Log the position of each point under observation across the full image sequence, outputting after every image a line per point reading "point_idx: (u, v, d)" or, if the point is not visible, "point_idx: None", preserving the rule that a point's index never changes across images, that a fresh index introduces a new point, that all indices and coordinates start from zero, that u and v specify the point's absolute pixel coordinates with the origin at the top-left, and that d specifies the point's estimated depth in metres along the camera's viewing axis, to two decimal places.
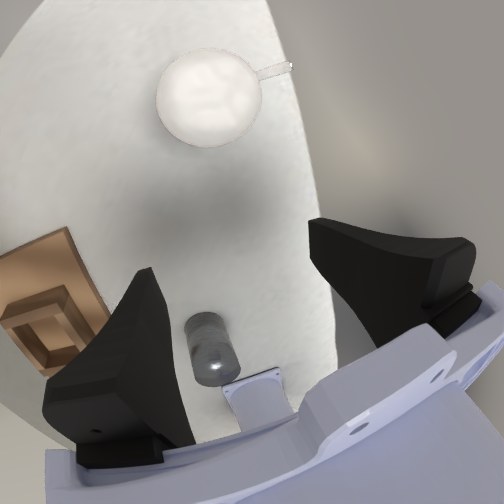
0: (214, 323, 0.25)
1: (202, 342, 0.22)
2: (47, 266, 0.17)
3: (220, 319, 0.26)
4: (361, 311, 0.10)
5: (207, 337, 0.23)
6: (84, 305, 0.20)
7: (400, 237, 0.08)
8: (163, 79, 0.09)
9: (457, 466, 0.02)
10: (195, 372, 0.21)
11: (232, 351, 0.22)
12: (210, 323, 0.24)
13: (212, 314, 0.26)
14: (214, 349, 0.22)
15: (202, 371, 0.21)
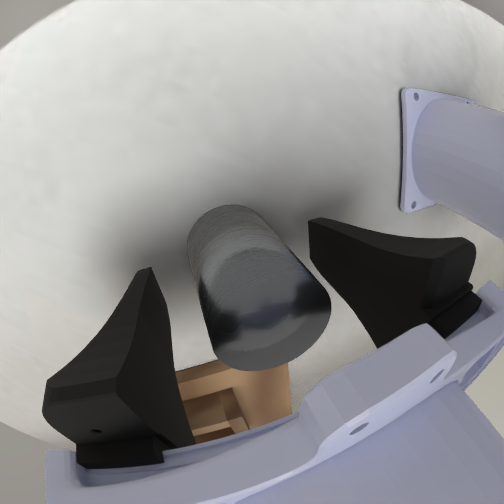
0: (194, 249, 0.11)
1: None
2: None
3: (203, 221, 0.12)
4: (361, 311, 0.10)
5: (198, 295, 0.10)
6: None
7: (400, 237, 0.08)
8: None
9: (457, 466, 0.02)
10: (252, 369, 0.09)
11: (228, 271, 0.08)
12: (192, 258, 0.11)
13: (190, 234, 0.12)
14: (204, 317, 0.09)
15: (252, 361, 0.09)
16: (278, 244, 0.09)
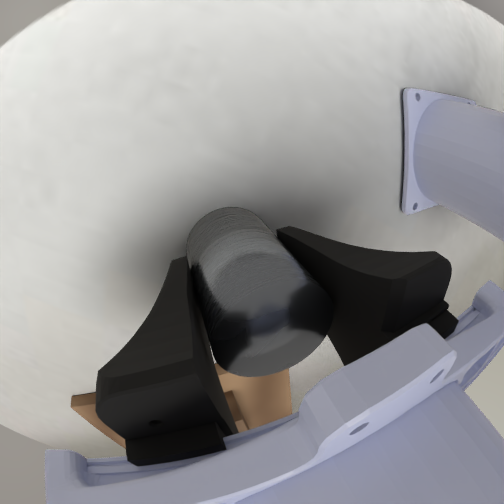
0: (193, 253, 0.11)
1: None
2: None
3: (203, 224, 0.11)
4: None
5: None
6: None
7: (367, 250, 0.08)
8: None
9: (457, 466, 0.02)
10: (253, 374, 0.09)
11: (229, 276, 0.08)
12: (191, 262, 0.11)
13: (190, 237, 0.12)
14: (204, 323, 0.08)
15: (253, 367, 0.09)
16: (279, 248, 0.09)
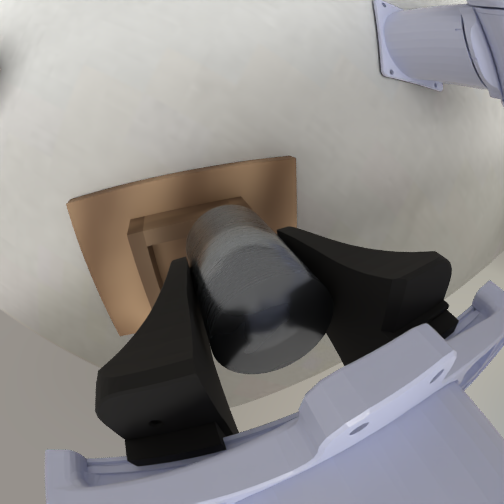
0: (193, 248, 0.11)
1: None
2: (105, 234, 0.17)
3: (203, 221, 0.11)
4: None
5: None
6: (165, 200, 0.17)
7: (367, 250, 0.08)
8: None
9: (457, 467, 0.02)
10: (251, 371, 0.09)
11: (229, 270, 0.08)
12: (191, 258, 0.11)
13: (190, 234, 0.12)
14: (203, 317, 0.08)
15: (252, 363, 0.08)
16: (280, 244, 0.09)
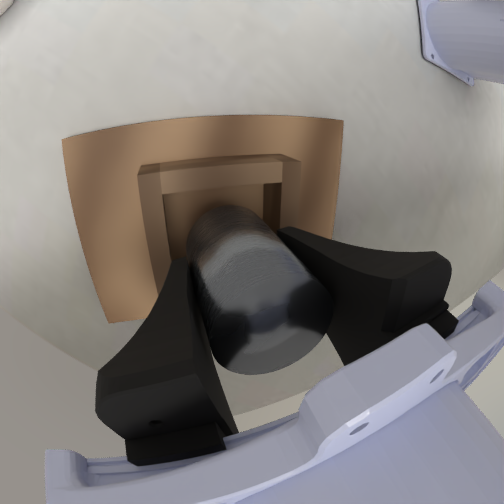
0: (193, 249, 0.11)
1: None
2: (105, 183, 0.12)
3: (203, 221, 0.11)
4: None
5: None
6: (189, 144, 0.13)
7: (367, 250, 0.08)
8: None
9: (457, 466, 0.02)
10: (251, 372, 0.09)
11: (229, 271, 0.08)
12: (190, 258, 0.11)
13: (189, 234, 0.12)
14: (203, 318, 0.08)
15: (252, 364, 0.08)
16: (280, 245, 0.09)
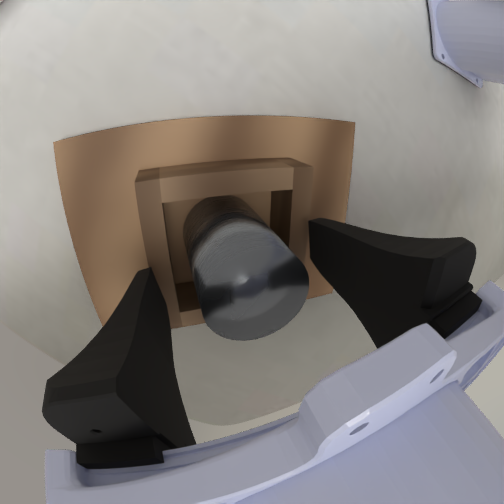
0: (189, 231, 0.12)
1: None
2: (100, 189, 0.11)
3: (198, 208, 0.13)
4: (361, 311, 0.10)
5: (191, 271, 0.11)
6: (191, 147, 0.12)
7: (400, 237, 0.08)
8: None
9: (457, 467, 0.02)
10: (238, 338, 0.10)
11: (217, 245, 0.09)
12: (186, 240, 0.12)
13: (186, 220, 0.13)
14: (195, 287, 0.10)
15: (238, 329, 0.10)
16: (263, 225, 0.11)
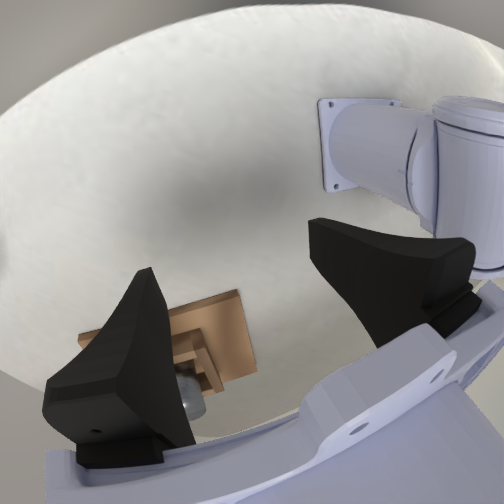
0: None
1: None
2: None
3: None
4: (361, 311, 0.10)
5: None
6: None
7: (400, 237, 0.08)
8: None
9: (457, 467, 0.02)
10: None
11: None
12: None
13: None
14: None
15: None
16: (182, 380, 0.21)
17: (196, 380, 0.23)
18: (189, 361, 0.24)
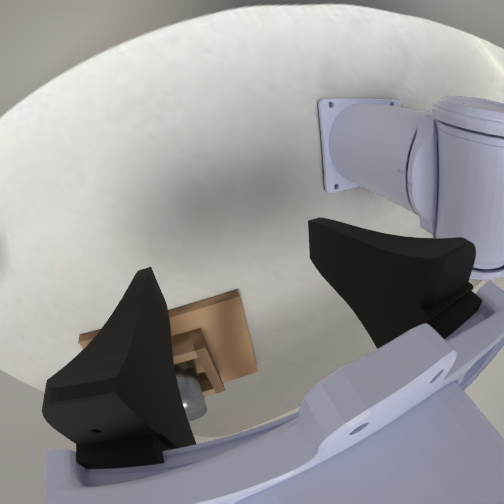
0: None
1: None
2: None
3: None
4: (361, 311, 0.10)
5: None
6: None
7: (400, 237, 0.08)
8: None
9: (457, 466, 0.02)
10: None
11: None
12: None
13: None
14: None
15: None
16: (183, 380, 0.21)
17: (197, 380, 0.23)
18: (190, 361, 0.24)
